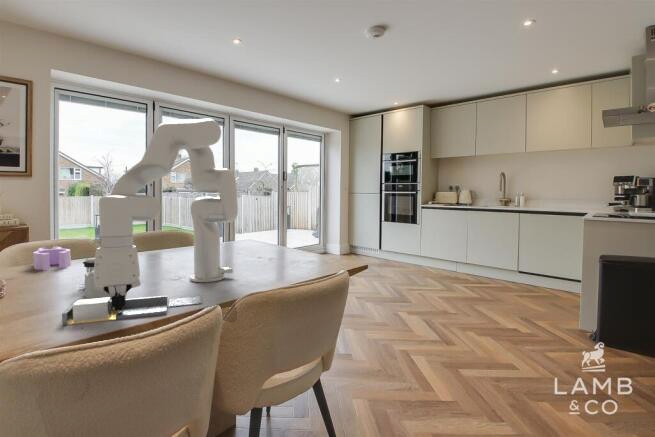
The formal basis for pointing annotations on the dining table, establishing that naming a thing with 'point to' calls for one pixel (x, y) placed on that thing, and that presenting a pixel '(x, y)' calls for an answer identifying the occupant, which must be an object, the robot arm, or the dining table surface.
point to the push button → (89, 265)
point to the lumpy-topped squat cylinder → (92, 292)
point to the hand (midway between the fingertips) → (118, 308)
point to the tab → (185, 301)
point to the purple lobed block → (51, 258)
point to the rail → (127, 310)
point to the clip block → (91, 309)
